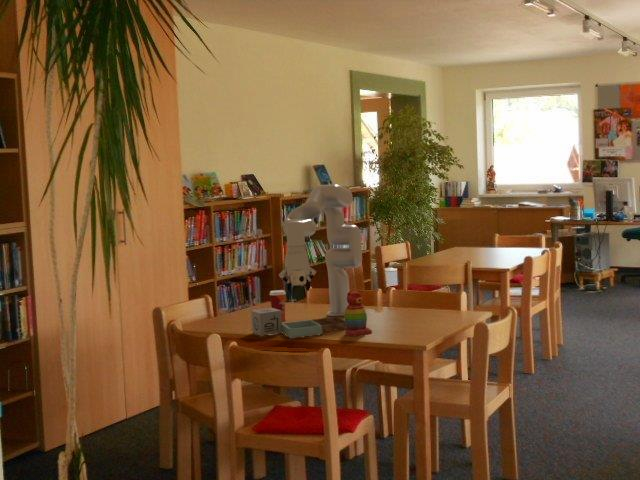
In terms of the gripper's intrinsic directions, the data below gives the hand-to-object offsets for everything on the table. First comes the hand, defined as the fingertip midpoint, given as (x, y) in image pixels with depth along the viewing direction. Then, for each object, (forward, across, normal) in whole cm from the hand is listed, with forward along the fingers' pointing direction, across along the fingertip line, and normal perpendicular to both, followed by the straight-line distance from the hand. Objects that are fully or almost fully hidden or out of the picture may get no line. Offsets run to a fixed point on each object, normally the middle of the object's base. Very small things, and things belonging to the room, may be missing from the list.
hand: (298, 291), depth 373 cm
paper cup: (+19, +1, -36) cm, 41 cm away
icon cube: (+19, +13, -9) cm, 24 cm away
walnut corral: (+18, -15, -8) cm, 25 cm away
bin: (+18, 0, 0) cm, 18 cm away
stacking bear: (+19, -21, +12) cm, 30 cm away
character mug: (+4, 0, 0) cm, 4 cm away
